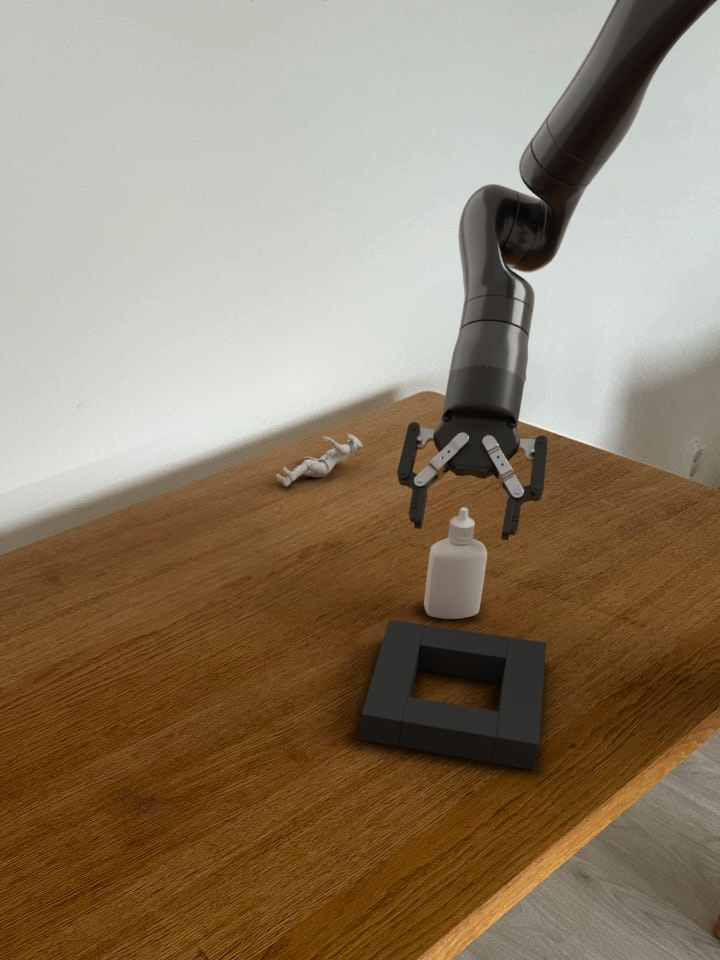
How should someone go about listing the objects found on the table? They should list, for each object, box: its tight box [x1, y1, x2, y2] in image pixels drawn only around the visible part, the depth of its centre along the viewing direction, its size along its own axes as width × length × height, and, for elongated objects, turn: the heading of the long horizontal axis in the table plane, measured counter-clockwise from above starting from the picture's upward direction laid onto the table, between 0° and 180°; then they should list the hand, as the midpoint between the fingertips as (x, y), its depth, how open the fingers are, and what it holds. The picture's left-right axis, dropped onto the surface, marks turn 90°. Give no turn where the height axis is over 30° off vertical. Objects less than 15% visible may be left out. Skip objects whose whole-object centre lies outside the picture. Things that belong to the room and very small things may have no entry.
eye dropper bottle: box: [423, 506, 488, 620], centre depth 102 cm, size 4×6×12 cm
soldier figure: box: [275, 433, 364, 488], centre depth 131 cm, size 8×5×12 cm
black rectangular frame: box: [359, 619, 547, 771], centre depth 93 cm, size 15×15×3 cm
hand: (461, 532), depth 100 cm, fingers open, 8 cm apart
